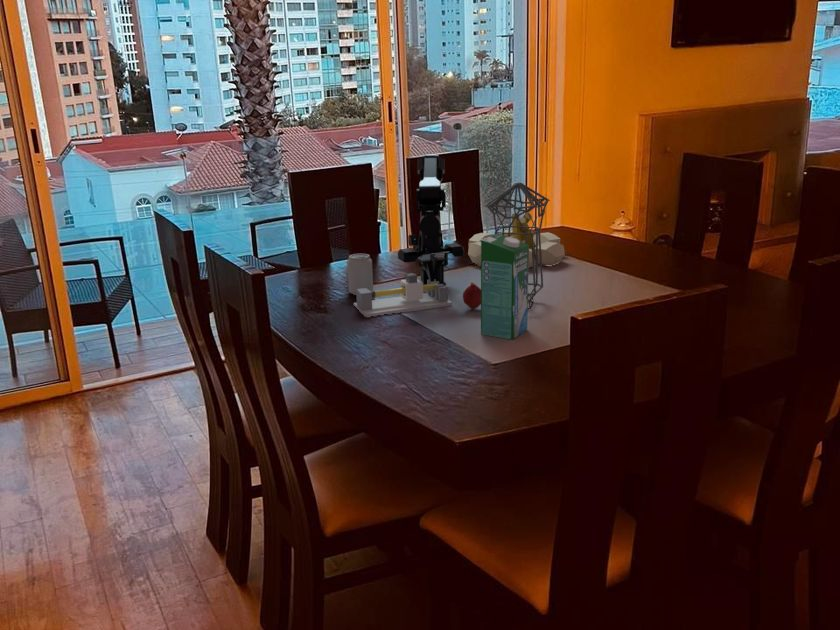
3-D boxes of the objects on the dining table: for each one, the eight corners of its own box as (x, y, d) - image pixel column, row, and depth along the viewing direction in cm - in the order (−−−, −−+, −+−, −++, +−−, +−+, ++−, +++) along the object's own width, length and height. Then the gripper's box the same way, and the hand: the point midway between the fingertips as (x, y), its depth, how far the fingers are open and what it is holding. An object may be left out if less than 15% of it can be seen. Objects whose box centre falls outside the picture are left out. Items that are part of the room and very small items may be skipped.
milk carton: (512, 340, 191) (514, 242, 184) (480, 334, 196) (480, 239, 188) (527, 329, 199) (529, 235, 191) (496, 324, 203) (497, 232, 195)
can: (369, 297, 231) (368, 258, 227) (345, 296, 232) (343, 257, 228) (376, 290, 238) (374, 252, 234) (352, 289, 239) (351, 252, 235)
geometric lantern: (484, 309, 216) (483, 185, 206) (498, 295, 230) (498, 179, 220) (539, 313, 211) (541, 186, 201) (550, 299, 225) (552, 179, 215)
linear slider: (435, 294, 231) (435, 275, 229) (451, 305, 220) (451, 285, 218) (353, 306, 222) (352, 286, 220) (366, 317, 211) (365, 296, 210)
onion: (485, 307, 218) (485, 280, 215) (480, 313, 213) (480, 285, 210) (466, 305, 220) (465, 279, 217) (460, 311, 215) (460, 284, 212)
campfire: (570, 271, 255) (572, 220, 250) (469, 273, 256) (469, 222, 251) (554, 247, 288) (556, 202, 283) (465, 249, 289) (464, 204, 284)
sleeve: (416, 294, 225) (416, 271, 222) (423, 299, 220) (422, 275, 218) (400, 296, 223) (400, 273, 221) (406, 301, 218) (406, 277, 216)
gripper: (449, 221, 228) (449, 271, 233) (390, 226, 222) (392, 278, 226) (464, 227, 218) (465, 280, 223) (403, 233, 212) (405, 287, 216)
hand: (431, 281), depth 222 cm, fingers closed
